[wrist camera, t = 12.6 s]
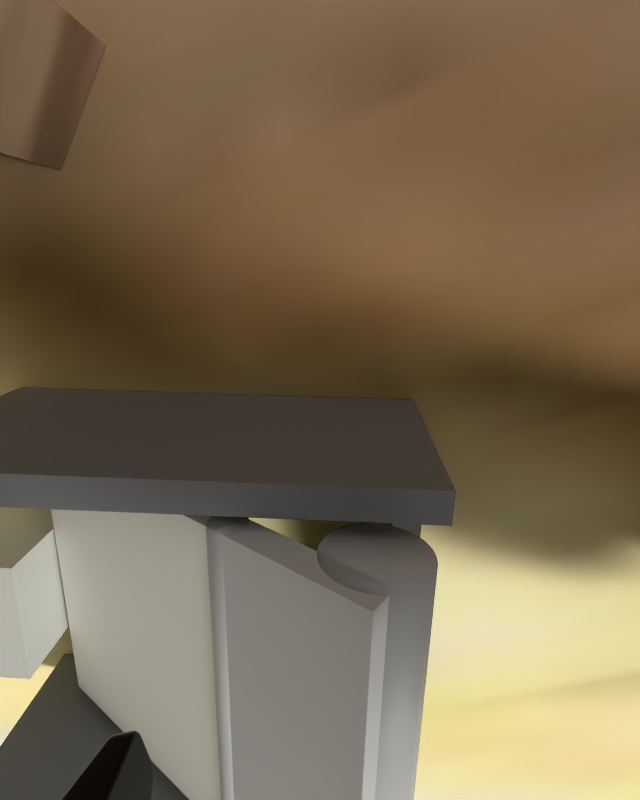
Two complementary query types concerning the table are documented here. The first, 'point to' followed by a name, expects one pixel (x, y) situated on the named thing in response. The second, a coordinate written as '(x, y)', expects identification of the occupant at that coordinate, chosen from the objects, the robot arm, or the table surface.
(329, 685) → the trapdoor
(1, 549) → the grey rectangular block
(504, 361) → the table surface
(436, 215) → the table surface
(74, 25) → the stand
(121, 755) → the robot arm
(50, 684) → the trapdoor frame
